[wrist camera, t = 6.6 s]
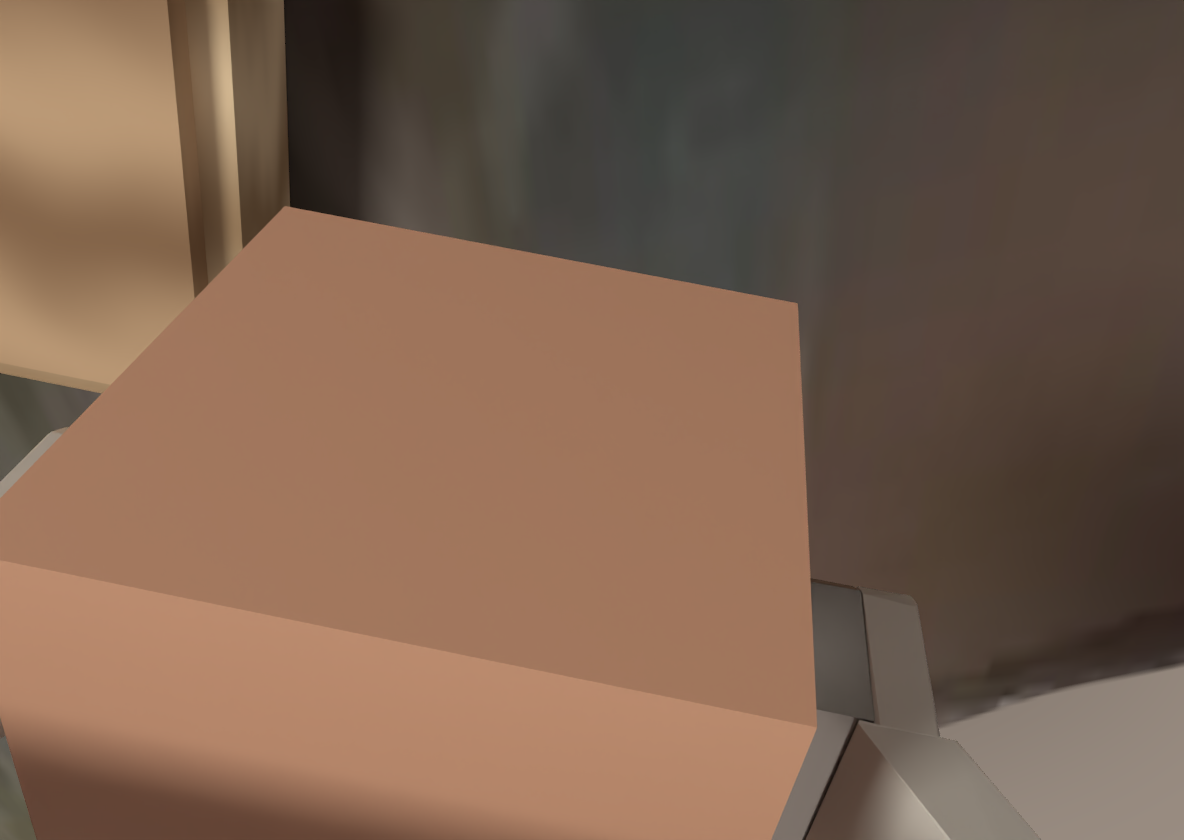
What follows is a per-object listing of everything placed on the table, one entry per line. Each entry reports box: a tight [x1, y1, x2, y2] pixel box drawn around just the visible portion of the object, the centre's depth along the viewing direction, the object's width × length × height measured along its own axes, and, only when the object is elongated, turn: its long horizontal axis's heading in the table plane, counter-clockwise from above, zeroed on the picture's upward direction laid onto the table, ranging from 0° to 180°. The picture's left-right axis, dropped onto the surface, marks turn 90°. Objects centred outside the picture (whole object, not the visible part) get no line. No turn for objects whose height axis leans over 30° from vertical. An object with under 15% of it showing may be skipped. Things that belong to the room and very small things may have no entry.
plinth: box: [0, 0, 290, 393], centre depth 27 cm, size 13×13×4 cm
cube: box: [0, 206, 817, 840], centre depth 9 cm, size 5×5×5 cm
